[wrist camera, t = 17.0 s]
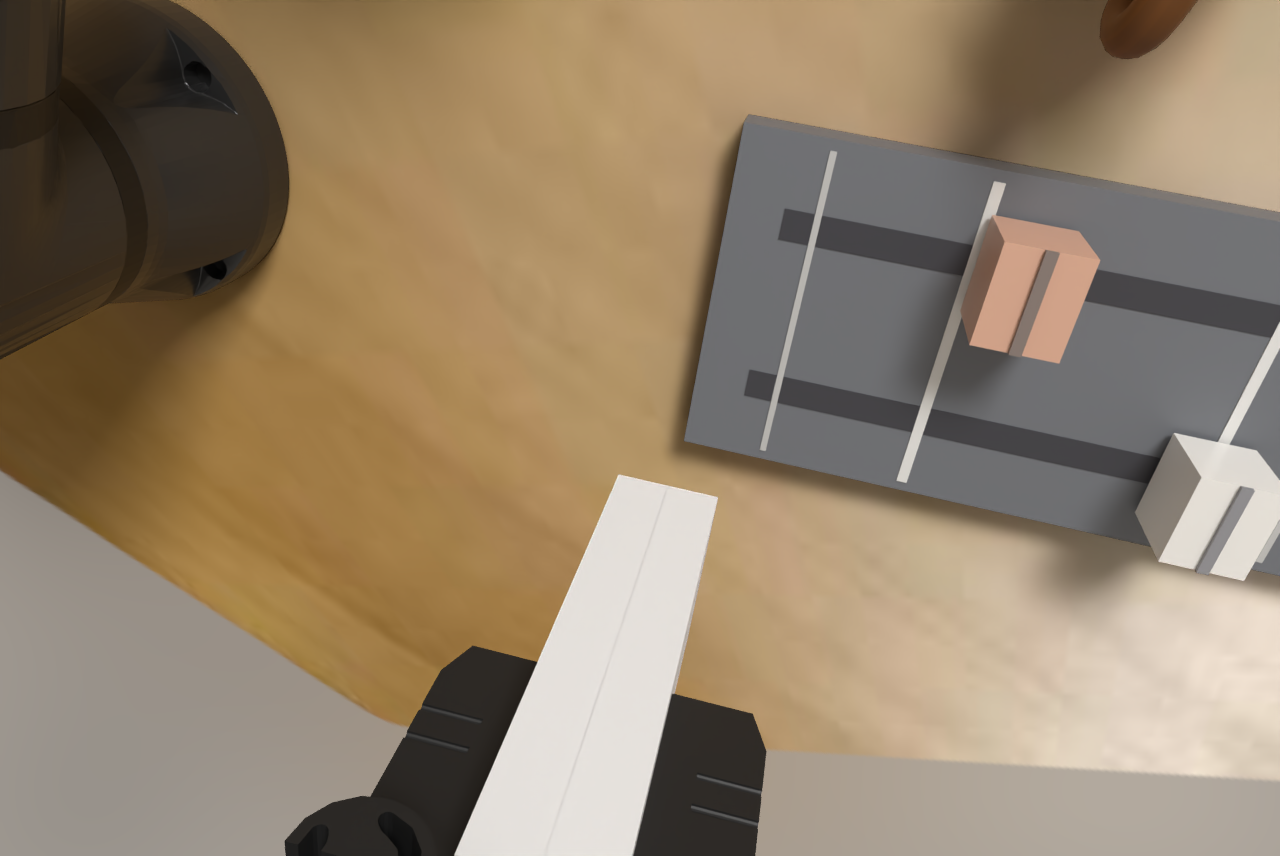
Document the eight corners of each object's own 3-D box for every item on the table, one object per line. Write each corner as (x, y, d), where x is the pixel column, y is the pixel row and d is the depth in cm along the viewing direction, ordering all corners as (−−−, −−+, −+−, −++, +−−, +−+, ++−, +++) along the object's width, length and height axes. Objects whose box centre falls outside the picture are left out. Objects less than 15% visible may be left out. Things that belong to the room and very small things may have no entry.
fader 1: (960, 310, 42) (969, 346, 38) (992, 214, 39) (1005, 243, 36) (1042, 327, 41) (1060, 365, 38) (1079, 231, 39) (1101, 261, 35)
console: (690, 423, 50) (683, 441, 48) (748, 114, 42) (743, 122, 40) (1323, 565, 46) (1342, 590, 44) (1517, 256, 38) (1549, 271, 36)
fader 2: (1134, 512, 44) (1159, 564, 41) (1173, 432, 42) (1203, 479, 39) (1213, 530, 44) (1245, 583, 40) (1256, 450, 42) (1294, 499, 38)
